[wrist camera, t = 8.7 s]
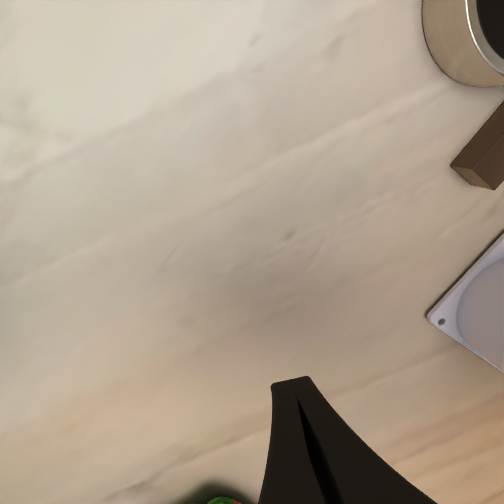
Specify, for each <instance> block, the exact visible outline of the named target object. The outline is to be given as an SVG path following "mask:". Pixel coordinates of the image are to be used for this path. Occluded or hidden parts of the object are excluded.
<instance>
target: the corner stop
mask: <svg viewBox="0 0 504 504" xmlns="http://www.w3.org/2000/svg"><path fill="white" fill-rule="evenodd" d="M451 167H452V168H454V169H455V170H456V171H457V172H458V173H459V174H460V175H461V176H462V177H463V178H464V179H465V180H467V181H468V182H469V183H470V184H471V185H474V186H478V187H482V188H487V189H491V190H496V188H497V187H498V186H499V185H500V184H501V183H502V182H503V181H504V102H503V103H502V105H501V106H500V107H499V108H498V109H497V111H496V112H495V113H494V114H493V115H492V116H491V118H490V119H489V120H488V121H487V122H486V124H485V125H484V126H483V127H482V128H481V129H480V131H479V132H478V133H477V134H476V135H475V137H474V138H473V139H472V140H471V141H470V142H469V144H468V145H467V146H466V147H465V148H464V150H463V151H462V152H461V153H460V154H459V155H458V157H457V158H456V159H455V160H454V161H453V163H452V164H451Z"/></svg>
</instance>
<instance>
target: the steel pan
mask: <svg viewBox="0 0 504 504" xmlns="http://www.w3.org/2000/svg"><path fill="white" fill-rule="evenodd" d="M422 13H423V27H424V34H425V38H426V41H427V45H428V47H429V50H430V52H431V55H432V56H433V58H434V60H435V61H436V63H437V64H438V65H439V67H440V68H441V69H442V70H443V71H444V72H445V73H446V74H447V75H448V76H449V77H451V78H453V79H454V80H456V81H457V82H460V83H462V84H465V85H468V86H473V87H490V86H499V85H504V0H423V8H422Z"/></svg>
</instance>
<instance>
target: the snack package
mask: <svg viewBox="0 0 504 504" xmlns="http://www.w3.org/2000/svg"><path fill="white" fill-rule="evenodd" d="M207 504H241V503H240V502H238V501H236V500H234V499H232V498H229V497H216V498H214V499H212V500H211V501H209V502H208V503H207Z"/></svg>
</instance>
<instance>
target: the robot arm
mask: <svg viewBox="0 0 504 504" xmlns="http://www.w3.org/2000/svg"><path fill="white" fill-rule="evenodd" d="M440 319H441V320H440ZM427 320H428V321H429V322H430V323H431V324H432V325H434V326H435V327H437V328H438V329H440V330H441V331H443V332H444V333H446V334H447V335H449V336H450V337H451V338H453V339H454V340H456V341H457V342H459V343H460V344H462V345H463V346H465V347H466V348H467V349H469V350H470V351H472V352H473V353H475V354H476V355H478V356H479V357H481V358H482V359H483V360H485V361H486V362H488V363H489V364H491V365H492V366H494V367H495V368H497V369H498V370H499V371H501V372H502V373H504V233H503V234H502V235H501V236H500V237H499V238H498V239H497V240H496V242H495V243H494V244H493V245H492V246H491V247H490V248H489V249H488V250H487V251H486V252H485V253H484V254H483V255H482V256H481V257H480V259H479V260H478V261H477V262H476V263H475V264H474V265H473V266H472V267H471V268H470V269H469V270H468V271H467V272H466V273H465V274H464V276H463V277H462V278H461V279H460V280H459V281H458V282H457V283H456V284H455V285H454V286H453V287H452V288H451V289H450V290H449V291H448V293H447V294H446V295H445V296H444V297H443V298H442V299H441V300H440V301H439V302H438V303H437V304H436V305H435V306H434V307H433V308H432V310H431V311H430V312H429V313H428V314H427ZM439 320H440V321H439ZM438 321H439V322H438ZM270 387H271V392H272V425H271V436H270V444H269V451H268V458H267V464H266V470H265V475H264V480H263V485H262V489H261V493H260V498H259V502H258V504H437V503H436V502H435V501H433V500H432V499H431V498H429V497H428V496H427V495H425V494H424V493H423V492H421V491H420V490H419V489H417V488H416V487H415V486H413V485H412V484H411V483H410V482H408V481H407V480H406V479H405V478H404V477H402V476H401V475H400V474H399V473H398V472H396V471H395V470H394V469H393V468H392V467H390V466H389V465H388V464H387V463H386V462H385V461H384V460H383V459H381V458H380V457H379V456H378V455H377V454H376V453H375V452H374V451H373V450H372V449H371V448H370V447H369V446H368V445H367V444H366V443H365V442H364V441H363V440H362V439H361V438H360V437H359V436H358V435H357V434H356V433H355V432H354V431H353V430H352V429H351V428H350V427H349V426H348V425H347V424H346V423H345V421H344V420H343V419H342V418H341V417H340V416H339V415H338V414H337V412H336V411H335V410H334V409H333V408H332V407H331V405H330V404H329V403H328V402H327V400H326V399H325V398H324V397H323V395H322V394H321V393H320V391H319V390H318V389H317V387H316V386H315V384H314V383H313V381H312V380H311V378H310V377H308V376H304V377H299V378H295V379H290V380H285V381H281V382H276V383H273V384H272V385H271V386H270Z"/></svg>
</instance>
